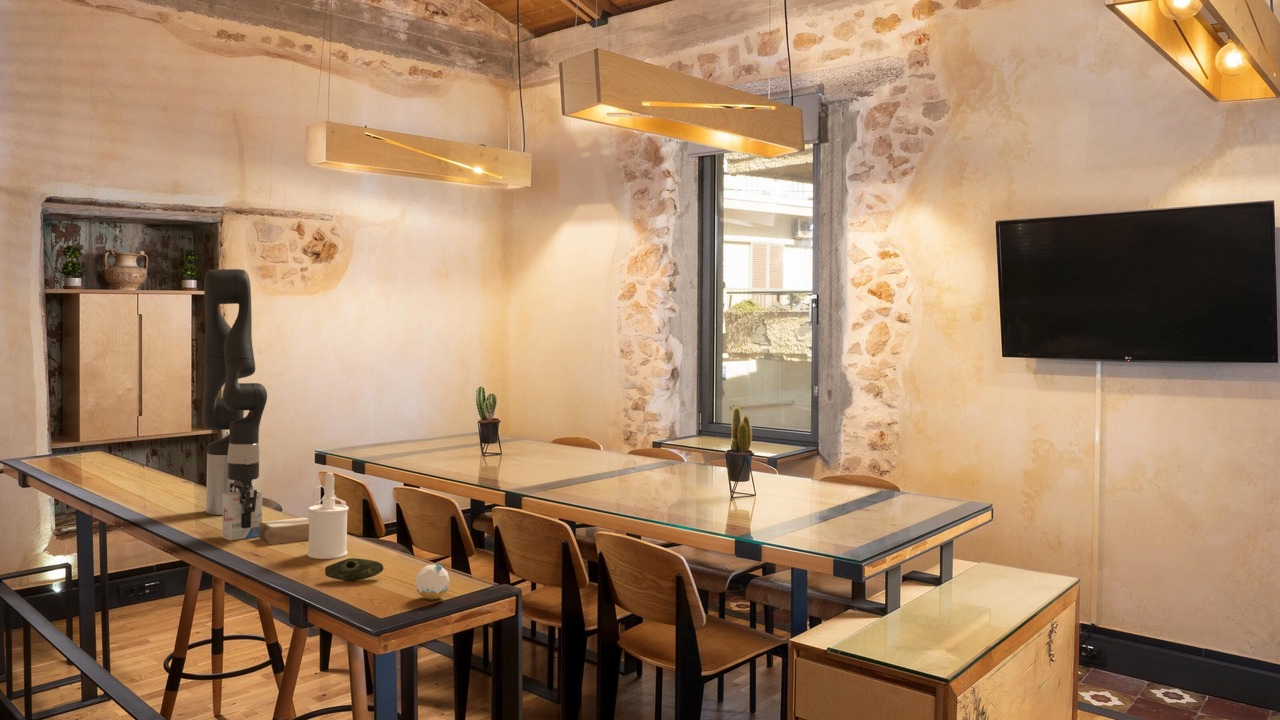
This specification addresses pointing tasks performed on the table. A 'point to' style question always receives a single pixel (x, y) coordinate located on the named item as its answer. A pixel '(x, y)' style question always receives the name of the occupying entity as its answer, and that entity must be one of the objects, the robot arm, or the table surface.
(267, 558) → the table surface
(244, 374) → the robot arm
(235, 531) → the ink box
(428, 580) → the ornament
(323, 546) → the white canister grenade
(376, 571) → the decorative stone
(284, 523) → the open box
